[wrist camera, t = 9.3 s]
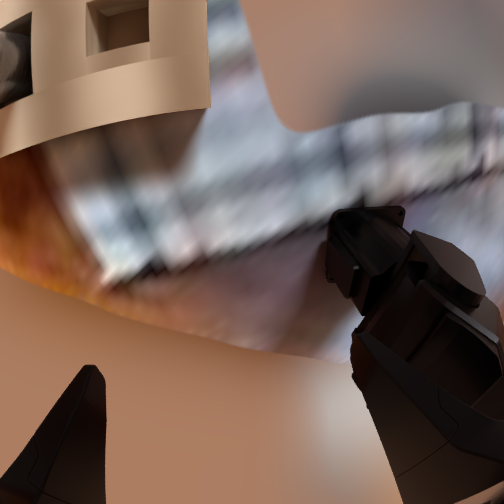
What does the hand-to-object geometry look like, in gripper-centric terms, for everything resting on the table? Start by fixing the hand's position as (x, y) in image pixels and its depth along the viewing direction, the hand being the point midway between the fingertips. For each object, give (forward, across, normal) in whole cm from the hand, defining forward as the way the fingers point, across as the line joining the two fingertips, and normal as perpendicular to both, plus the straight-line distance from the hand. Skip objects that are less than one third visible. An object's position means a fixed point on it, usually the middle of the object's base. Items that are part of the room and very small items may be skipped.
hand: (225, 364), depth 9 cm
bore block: (+12, +7, -12) cm, 18 cm away
